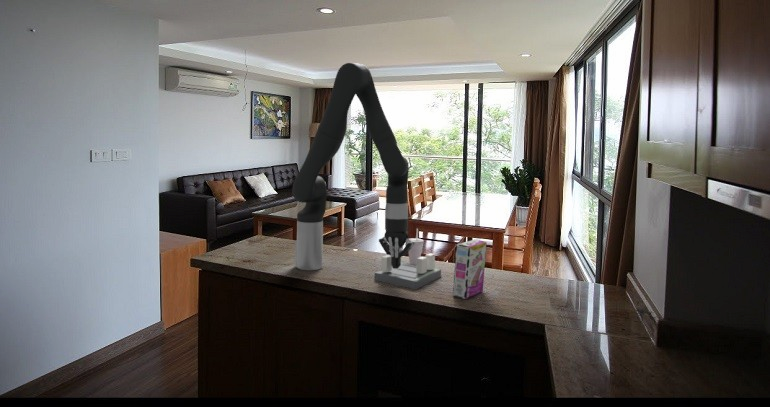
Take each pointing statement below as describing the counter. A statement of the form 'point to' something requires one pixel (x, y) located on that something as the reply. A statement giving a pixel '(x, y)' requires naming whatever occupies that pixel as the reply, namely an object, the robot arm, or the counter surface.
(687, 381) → the counter surface
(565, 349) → the counter surface
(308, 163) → the robot arm
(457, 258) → the candy bar box
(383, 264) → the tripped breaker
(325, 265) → the counter surface
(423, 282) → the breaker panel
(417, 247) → the smoothie
